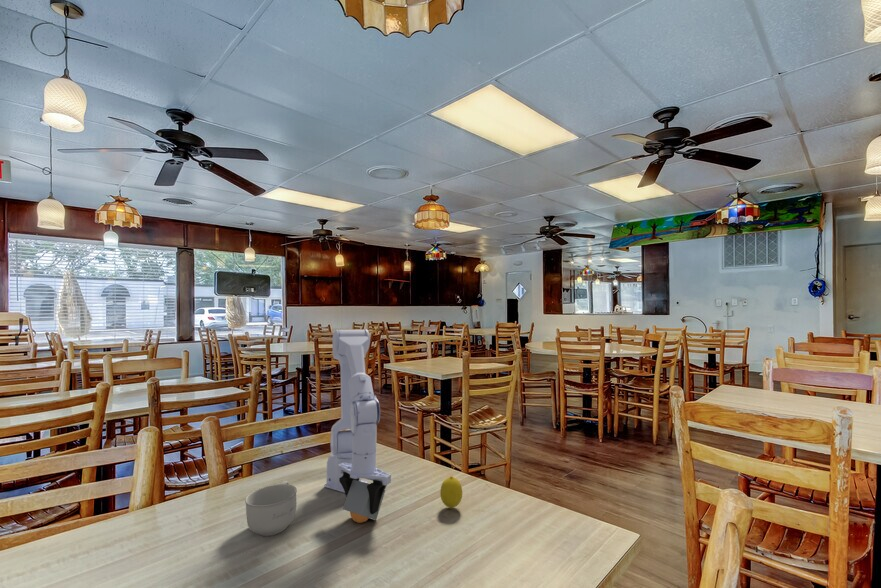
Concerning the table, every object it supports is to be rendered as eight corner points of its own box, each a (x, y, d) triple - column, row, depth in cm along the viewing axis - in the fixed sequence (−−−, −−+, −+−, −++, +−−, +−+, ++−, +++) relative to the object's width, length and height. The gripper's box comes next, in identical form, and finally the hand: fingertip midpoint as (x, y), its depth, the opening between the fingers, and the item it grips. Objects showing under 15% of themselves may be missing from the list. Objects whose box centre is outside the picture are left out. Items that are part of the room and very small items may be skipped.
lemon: (453, 516, 98) (454, 483, 98) (435, 509, 101) (436, 477, 102) (466, 507, 103) (466, 475, 103) (448, 501, 106) (449, 470, 106)
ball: (351, 494, 96) (361, 500, 100) (342, 516, 93) (353, 523, 97) (368, 498, 94) (378, 504, 97) (360, 521, 91) (370, 527, 94)
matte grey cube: (342, 509, 94) (353, 479, 98) (356, 513, 99) (366, 485, 102) (362, 515, 92) (372, 484, 95) (376, 520, 96) (385, 490, 99)
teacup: (278, 545, 85) (279, 506, 86) (233, 538, 88) (234, 501, 88) (311, 512, 99) (312, 479, 99) (272, 507, 101) (273, 475, 102)
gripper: (329, 450, 97) (328, 508, 96) (378, 462, 90) (377, 524, 89) (349, 442, 103) (348, 496, 103) (396, 452, 96) (395, 510, 96)
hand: (363, 508), depth 96 cm, fingers closed on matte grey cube, 6 cm apart
